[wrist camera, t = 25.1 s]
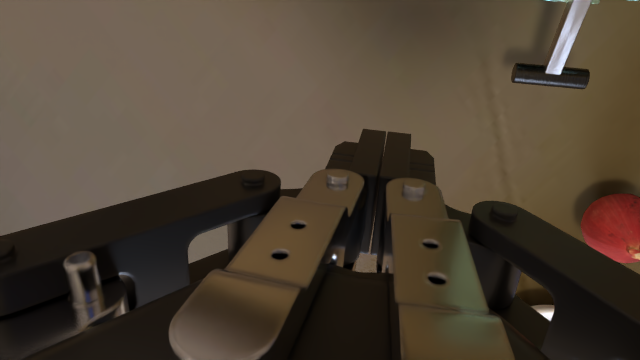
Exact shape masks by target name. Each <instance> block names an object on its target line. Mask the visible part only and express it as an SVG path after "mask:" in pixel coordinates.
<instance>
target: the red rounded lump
mask: <svg viewBox="0 0 640 360" xmlns="http://www.w3.org/2000/svg"><path fill="white" fill-rule="evenodd" d="M581 230H582V234H583V237H584V240H585V242H586V243H587V244H588V245H589V246H590V247H592V248H593V249H595V250H597V251H599V252H600V253H602V254H604V255H606V256H608V257H609V258H611V259H613V260H615V261H616V262H622V263H632V262H638V261H640V197H637V196H635V195H633V194H612V195H608V196H604V197H601V198H599V199H598V200H596V201H594V202H593V203H591V205H590V206H589V207H588V208H587V209H586V211H585V212H584V214H583V218H582V222H581Z"/></svg>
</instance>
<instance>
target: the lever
mask: <svg viewBox="0 0 640 360" xmlns="http://www.w3.org/2000/svg"><path fill="white" fill-rule="evenodd" d="M591 1H592V0H568V2H567V5H566V7H565V10H564V13H563V15H562V18H561V21H560V23H559V26H558V28H557V31H556V34H555V36H554V39H553V41H552V44H551V47H550V49H549V52H548V55H547V57H546V60H545V62H544V65H535V64H524V63H515V65H514V67H513V70H512V76H511V80H512V82H513V83H521V84H531V85H542V86H553V87H563V88H574V89H585V88H586V86H587V84H588V82H589V77H590V72H589V70H588V69H580V68H569V67H564V65H565V63H566V60H567V58H568V56H569V53H570V51H571V48H572V46H573V44H574V41H575V39H576V37H577V34H578V32H579V29H580V27H581V25H582V22H583V20H584V17H585V15H586V13H587V10H588V8H589V6H590V3H591Z"/></svg>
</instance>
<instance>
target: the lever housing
mask: <svg viewBox="0 0 640 360" xmlns="http://www.w3.org/2000/svg"><path fill="white" fill-rule="evenodd" d="M545 1H559V2H568V0H545ZM599 1H600V0H592V1H591V3H590V4H599ZM628 1H640V0H628Z"/></svg>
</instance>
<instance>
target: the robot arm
mask: <svg viewBox="0 0 640 360" xmlns="http://www.w3.org/2000/svg"><path fill="white" fill-rule="evenodd" d="M385 137H386V131H378V130H369V129H363V131H362V134H361V137H360V140H359V143H354V142H343V143H341V144H339V145H337V146H336V147H335V149H334V151H333V154H332V155H331V158H330V160H329V162H328V164H327V166H326V169H324V170H320V171H317V172H315V173H314V174H313V175H312V176H311V177H310V179H309V180H308V182H307V183H306V185H305V186H304V187H303V188H300V189H281V180H280V178H279V177H278V176H277V175H275V174H273V173H271V172H268V171H263V170H243V171H238V172H234V173H231V174H227V175H223V176H220V177H216V178H212V179H209V180H205V181H201V182H198V183H194V184H190V185H187V186H183V187H179V188H176V189H172V190H168V191H165V192H161V193H157V194H154V195H150V196H146V197H143V198H139V199H135V200H132V201H128V202H124V203H121V204H117V205H113V206H109V207H106V208H102V209H98V210H95V211H91V212H87V213H84V214H80V215H76V216H73V217H69V218H65V219H62V220H58V221H54V222H51V223H47V224H43V225H40V226H36V227H32V228H29V229H25V230H21V231H18V232H14V233H10V234H7V235H3V236H0V360H640V275H639V274H638V273H636V272H634V271H632V270H631V269H629V268H627V267H625V266H624V265H622V264H620V263H618V262H616V261H615V260H613V259H611V258H609V257H608V256H606V255H604V254H602V253H600V252H599V251H597V250H595V249H593V248H592V247H590V246H588V245H586V244H585V243H583V242H581V241H579V240H577V239H576V238H574V237H572V236H570V235H569V234H567V233H565V232H563V231H561V230H560V229H558V228H556V227H554V226H553V225H551V224H549V223H547V222H546V221H544V220H542V219H540V218H538V217H537V216H535V215H533V214H531V213H530V212H528V211H526V210H524V209H522V208H520V207H518V206H515V205H512V204H509V203H505V202H499V201H484V202H479V203H477V204H475V205H474V207H473V209H472V214H468V213H465V212H461V211H458V210H455V209H453V208H451V207H449V206H447V205H445V203H444V200H443V196H442V192H441V190H440V189H439V188H438V187H437V186H436V181H435V168H434V158H433V157H432V156H431V155H430V154H429V153H428V152H427V151H422V150H414V149H410V147H411V134H405V133H396V132H388V134H387V140H386V145H385ZM384 145H385V151H384ZM383 154H384V156H383ZM375 211H376V213H375ZM374 217H375V221H374ZM373 223H374V230H373V238H372V246H371V254H372V255H377V263H376V271H375V273H362V272H356V271H355V268H356V260H357V259H358V257H359V254H360V253H364V254H368V251H369V246H370V240H371V234H372V229H373ZM224 225H228V249H226V250H224V251H221V252H219V253H216V254H213V255H211V256H208V257H206V258H203V259H200V260H198V261H195V262H193V263H190V264H188V247H189V244H190V242H191V241H192V240H193V239H194V238H195V237H196V236H197V235H199V234H201V233H204V232H207V231H210V230H213V229H216V228H218V227H221V226H224ZM521 271H522V272H523V273H525V274H526V275H527V276H529V277H530V278H532V279H533V280H535V281H536V282H537V283H539V284H540V285H542V286H543V287H544V288H546V289H547V290H548V292H549V293H550V295H551V296H552V299H553V301H554V313H553V316H552V319H551V321H549V320H548V319H547V318H545V317H544V316H543V315H541V314H540V313H539V312H537V311H536V310H535V309H533V308H532V307H531V306H529V305H528V304H527V303H525V302H524V301H523V300H522V299H520V298H519V297H518V296H516V295H515V292H516V289H517V285H518V282H519V278H520V275H521Z"/></svg>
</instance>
